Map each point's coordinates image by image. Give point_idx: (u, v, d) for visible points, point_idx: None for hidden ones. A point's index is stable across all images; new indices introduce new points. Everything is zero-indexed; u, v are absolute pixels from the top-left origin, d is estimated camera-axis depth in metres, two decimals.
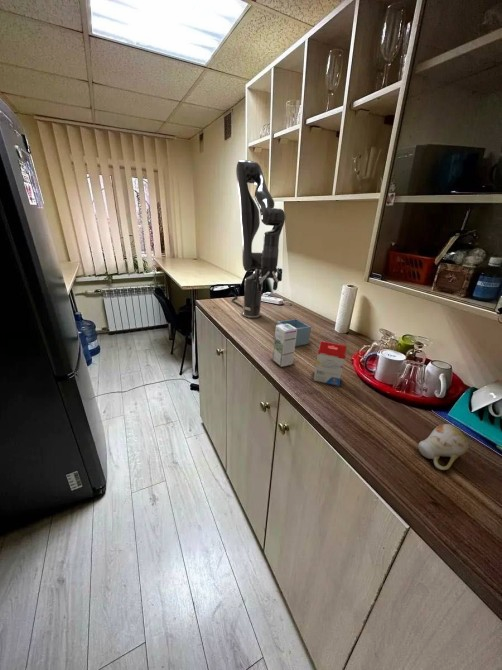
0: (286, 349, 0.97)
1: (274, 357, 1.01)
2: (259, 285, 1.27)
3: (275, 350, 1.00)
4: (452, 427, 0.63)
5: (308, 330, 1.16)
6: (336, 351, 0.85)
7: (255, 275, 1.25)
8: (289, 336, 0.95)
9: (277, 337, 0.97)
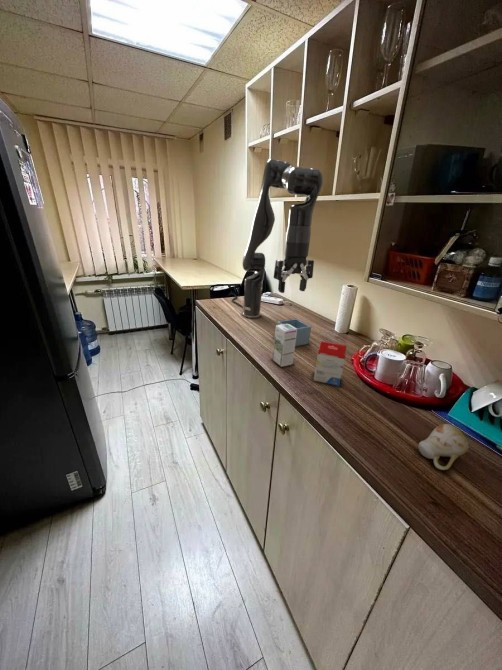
0: (286, 349, 0.97)
1: (274, 357, 1.01)
2: (282, 284, 0.88)
3: (275, 350, 1.00)
4: (452, 427, 0.63)
5: (308, 330, 1.16)
6: (336, 351, 0.85)
7: (276, 269, 0.86)
8: (289, 336, 0.95)
9: (277, 337, 0.97)
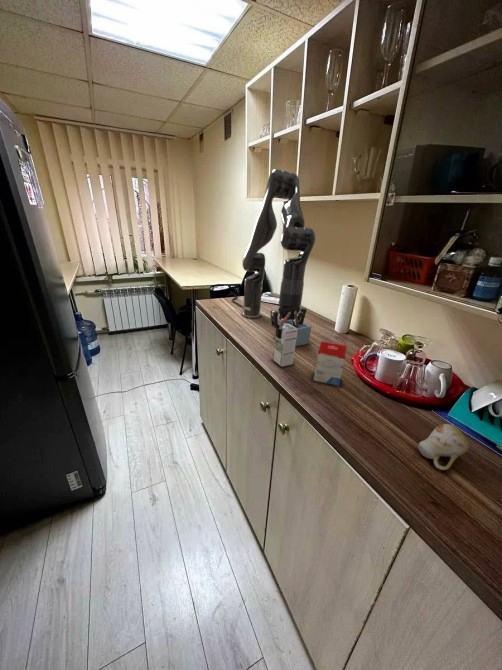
0: (286, 349, 0.97)
1: (274, 357, 1.01)
2: (279, 331, 0.95)
3: (275, 350, 1.00)
4: (452, 427, 0.63)
5: (308, 330, 1.16)
6: (336, 351, 0.85)
7: (272, 319, 0.92)
8: (289, 336, 0.95)
9: None
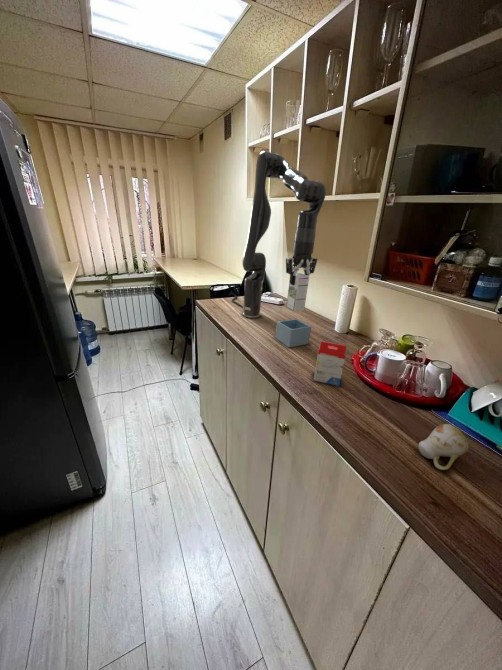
0: (299, 294, 1.09)
1: (288, 304, 1.14)
2: (292, 277, 1.07)
3: (289, 297, 1.12)
4: (452, 427, 0.63)
5: (308, 330, 1.16)
6: (336, 351, 0.85)
7: (287, 266, 1.04)
8: (302, 282, 1.07)
9: None
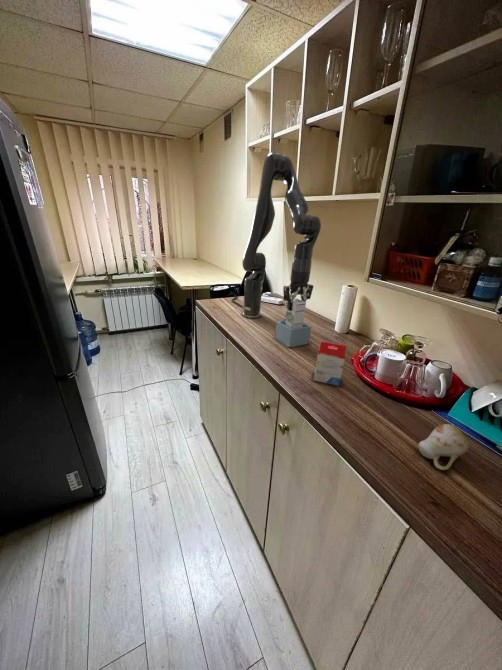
0: (296, 319, 1.14)
1: None
2: (290, 304, 1.12)
3: (286, 321, 1.17)
4: (452, 427, 0.63)
5: (308, 330, 1.16)
6: (336, 351, 0.85)
7: (285, 293, 1.10)
8: (299, 308, 1.12)
9: None
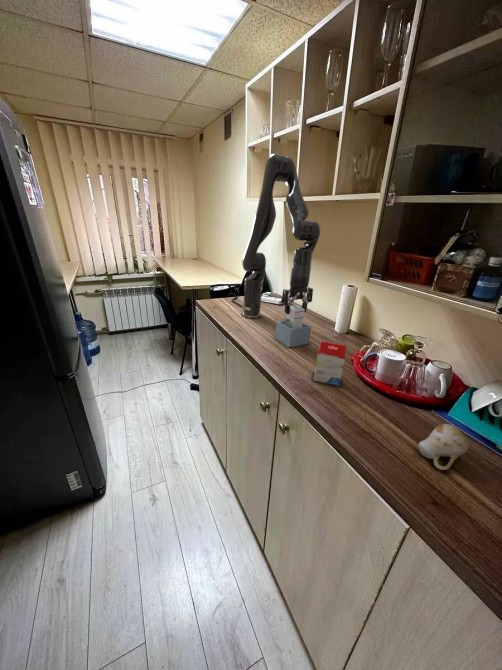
0: (295, 326, 1.15)
1: None
2: (287, 307, 1.12)
3: None
4: (452, 427, 0.63)
5: (308, 330, 1.16)
6: (336, 351, 0.85)
7: (283, 296, 1.10)
8: (298, 315, 1.14)
9: (287, 316, 1.16)
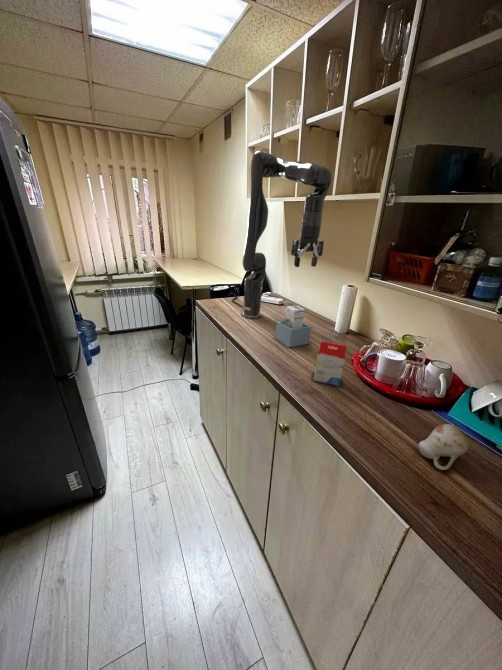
0: (295, 326, 1.15)
1: None
2: (297, 259, 1.09)
3: None
4: (452, 427, 0.63)
5: (308, 330, 1.16)
6: (336, 351, 0.85)
7: (293, 247, 1.07)
8: (298, 315, 1.14)
9: (287, 316, 1.16)
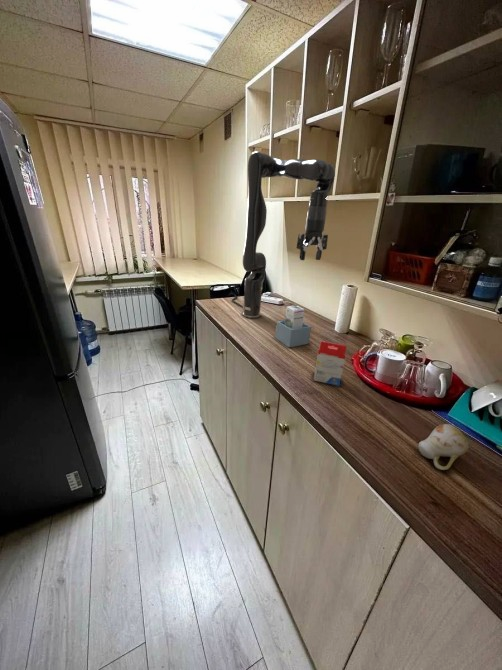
0: (295, 326, 1.15)
1: None
2: (302, 253, 1.12)
3: None
4: (452, 427, 0.63)
5: (308, 330, 1.16)
6: (336, 351, 0.85)
7: (299, 241, 1.10)
8: (298, 315, 1.14)
9: (287, 316, 1.16)
